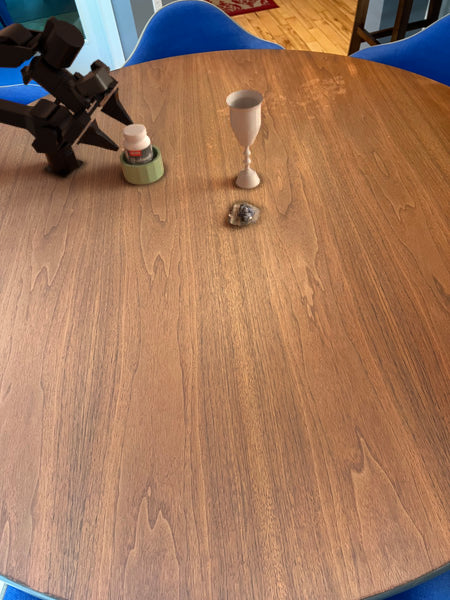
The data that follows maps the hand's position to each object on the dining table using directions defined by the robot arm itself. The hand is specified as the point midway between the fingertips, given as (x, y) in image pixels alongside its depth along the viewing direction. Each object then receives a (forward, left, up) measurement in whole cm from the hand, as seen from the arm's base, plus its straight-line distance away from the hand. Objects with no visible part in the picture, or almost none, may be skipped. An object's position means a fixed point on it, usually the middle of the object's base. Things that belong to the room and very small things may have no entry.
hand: (125, 137), depth 100 cm
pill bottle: (+2, +1, -8) cm, 9 cm away
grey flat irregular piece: (+29, -1, -9) cm, 30 cm away
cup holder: (+2, +1, -8) cm, 9 cm away
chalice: (+24, +9, -9) cm, 27 cm away
